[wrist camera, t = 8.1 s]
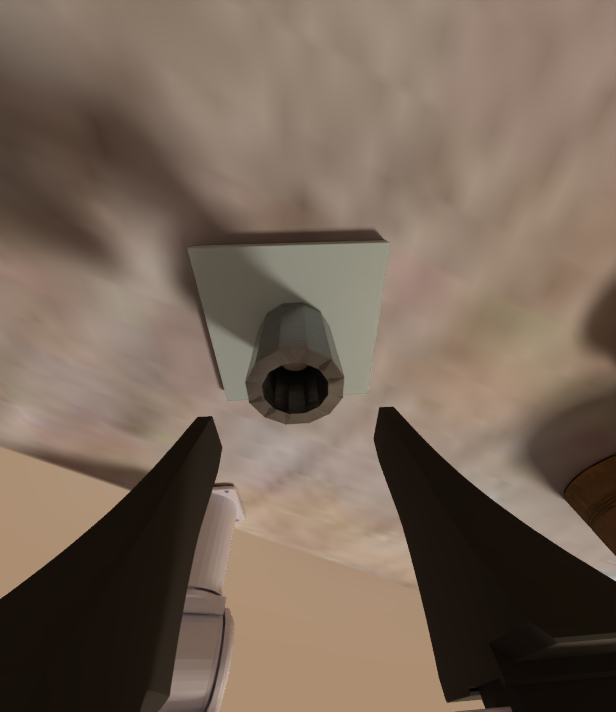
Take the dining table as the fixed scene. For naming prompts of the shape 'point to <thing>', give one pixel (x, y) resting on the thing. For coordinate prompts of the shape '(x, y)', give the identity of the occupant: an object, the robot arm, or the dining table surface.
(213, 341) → the shaft plate
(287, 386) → the tube
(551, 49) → the dining table surface
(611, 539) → the wooden container
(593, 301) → the dining table surface
